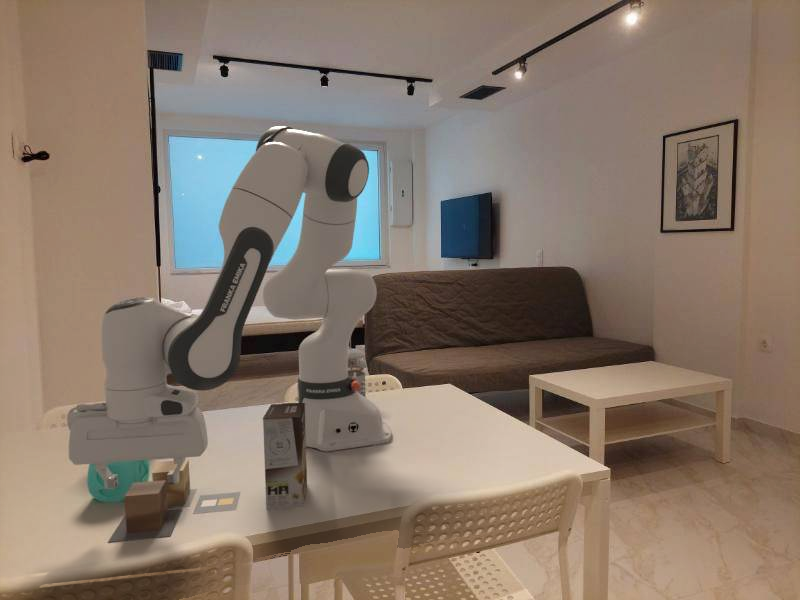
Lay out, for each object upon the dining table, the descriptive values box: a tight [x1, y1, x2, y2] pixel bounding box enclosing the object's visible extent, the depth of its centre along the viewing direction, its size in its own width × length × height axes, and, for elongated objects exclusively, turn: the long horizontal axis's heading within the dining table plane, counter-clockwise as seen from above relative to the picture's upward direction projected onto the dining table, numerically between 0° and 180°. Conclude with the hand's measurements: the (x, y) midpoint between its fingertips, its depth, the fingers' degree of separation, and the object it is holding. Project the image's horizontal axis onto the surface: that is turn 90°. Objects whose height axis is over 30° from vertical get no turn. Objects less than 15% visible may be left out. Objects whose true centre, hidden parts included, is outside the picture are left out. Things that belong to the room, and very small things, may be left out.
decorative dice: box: [86, 460, 150, 503], centre depth 103 cm, size 8×8×8 cm
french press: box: [348, 336, 367, 398], centre depth 160 cm, size 10×12×25 cm
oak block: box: [151, 459, 191, 506], centre depth 99 cm, size 5×5×6 cm
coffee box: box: [262, 402, 308, 510], centre depth 99 cm, size 9×6×16 cm
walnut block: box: [124, 480, 169, 533], centre depth 90 cm, size 5×5×6 cm
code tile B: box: [167, 488, 198, 509], centre depth 100 cm, size 7×7×1 cm
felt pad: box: [107, 508, 183, 544], centre depth 91 cm, size 9×9×1 cm
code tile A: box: [192, 491, 241, 515], centre depth 98 cm, size 7×7×1 cm
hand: (142, 484), depth 91 cm, fingers open, 8 cm apart
